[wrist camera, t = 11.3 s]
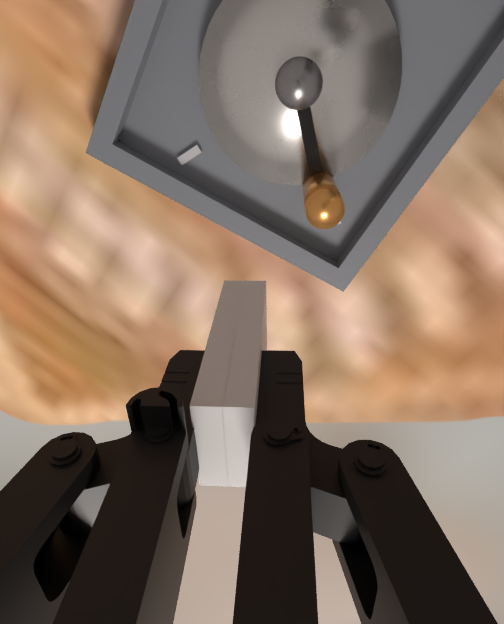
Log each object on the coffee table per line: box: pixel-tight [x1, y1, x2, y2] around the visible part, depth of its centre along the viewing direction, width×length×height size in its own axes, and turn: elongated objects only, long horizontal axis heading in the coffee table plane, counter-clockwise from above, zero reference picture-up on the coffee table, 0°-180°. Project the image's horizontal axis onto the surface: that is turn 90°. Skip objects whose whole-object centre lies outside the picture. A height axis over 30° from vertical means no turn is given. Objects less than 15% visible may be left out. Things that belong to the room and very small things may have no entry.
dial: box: [199, 0, 402, 229], centre depth 26 cm, size 14×13×6 cm
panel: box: [86, 0, 504, 292], centre depth 29 cm, size 22×22×3 cm
